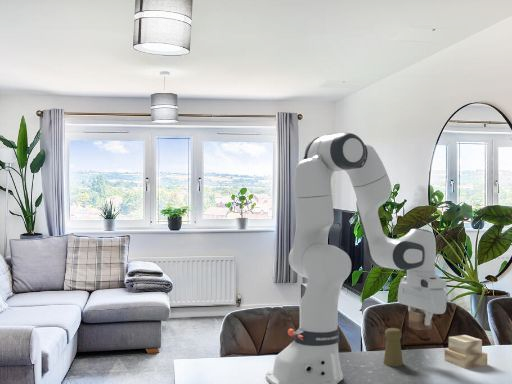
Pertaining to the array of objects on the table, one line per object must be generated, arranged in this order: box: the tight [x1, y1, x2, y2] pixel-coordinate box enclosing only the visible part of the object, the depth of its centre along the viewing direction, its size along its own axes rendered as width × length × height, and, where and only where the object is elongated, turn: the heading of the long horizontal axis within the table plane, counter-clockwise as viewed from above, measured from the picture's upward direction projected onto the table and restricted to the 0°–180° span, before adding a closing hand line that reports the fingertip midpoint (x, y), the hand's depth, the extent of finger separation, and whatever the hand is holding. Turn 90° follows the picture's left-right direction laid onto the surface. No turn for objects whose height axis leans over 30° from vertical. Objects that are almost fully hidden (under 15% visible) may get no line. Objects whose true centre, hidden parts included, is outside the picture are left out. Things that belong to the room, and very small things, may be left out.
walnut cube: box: [408, 309, 433, 331], centre depth 176 cm, size 5×5×5 cm
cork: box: [383, 327, 404, 368], centre depth 174 cm, size 6×6×11 cm
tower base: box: [444, 347, 488, 369], centre depth 175 cm, size 9×9×4 cm
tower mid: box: [448, 334, 483, 355], centre depth 175 cm, size 7×7×4 cm
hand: (419, 322), depth 176 cm, fingers closed on walnut cube, 5 cm apart
